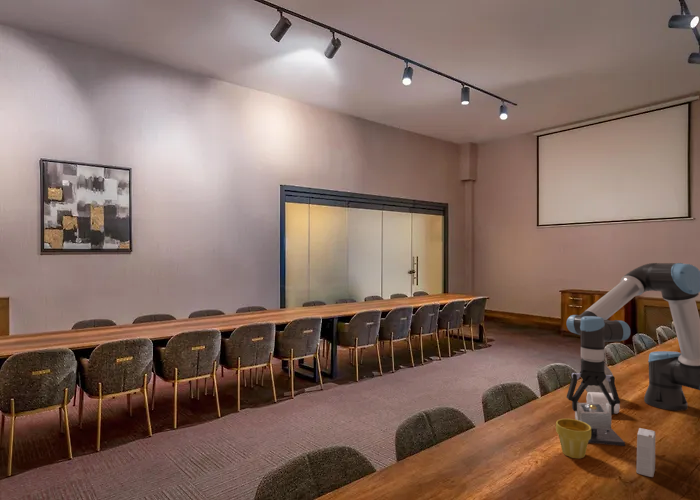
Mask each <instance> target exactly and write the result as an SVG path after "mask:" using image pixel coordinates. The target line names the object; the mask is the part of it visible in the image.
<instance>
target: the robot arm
mask: <svg viewBox="0 0 700 500" xmlns="http://www.w3.org/2000/svg"><path fill="white" fill-rule="evenodd" d="M652 291H653V292H661V296H662V299H663V300H664V301H666V302H668V306H669V310H670V314H671V317H672V321H673V326H674V329H675V333H676V337H677V341H678V345H679V349H680V352H678V351H668V350H667V351H666V350H665V351H664V350H662V351H661V350H660V351H659V350H658V351H651V352H650V353H649V355H648V361H647V363H648V387H647V389H646V391H645V394H644V399H643V401H644V402H645V404H647V405H648V406H652V407H654V408H658V409H661V410H668V411H678V412H679V411H680V412H681V411H686V410H688V405H689V404H688V402H687V398H686V396H685V393H684V390H683V387H685V388H686V387H687V388H691V389H693V390H697V391H700V314H699V311H698V307H697V302H696V299H697V297H698V298H699V295H700V270H699V268H698V267H696V266H695V265H693V264H690V263H683V262H682V263H681V262H678V263H677V262H676V263H673V262H671V263H670V262H663V263H662V262H651V263H646V264H642V265H640V266H638V267H636V268H634V269H632V270H630V271H629V272H627V273H626V274H625V275H623V276H622V277H621V278H620V281H619V283H617V285H615V286H613V288H612V289H611V290H609V291H608V292H607V293H605V294H604V295H603V296H602V297H600V298H599V299H598V300H596V302H594V303H593V304H592V305H590V307H588V308H587V309H585V310H584V311H583V312H582V313H581V314H572V315H571V314H570V316H568V318H567V319H566V328H567V330H568V331H569V332H570V333H573V334H575V335H577V336H578V335H579V336H580V358H581V359H580V371H579V372H577V373H576V372H571V373H570V376H571V379H570V380H571V381H570V383H569V387H568V390H567V394H566V399H567V400H568V401H571V405H572V406H571V407H572V408H571V409H572V410H573V412H574V419H575V420H579V421H580V403H581V402H579V400H580V399H581V396H582V395H583V394H584V391H586V388H587V386H588V385H589V386H592V385H595V386H599V387H600V388H601V390H602V392H603V394H604V395H605V397H606V399H607V400H608V402H609V403H606V409H607V410H608V412H609V413H610V420H611V421H612V415H614V414H615V413H614V406H615V404H621V400H620V398H619V397H620V396H619V393H618V390H617V388H616V384H615V383H614V382H615V378H616V377H615V376H614V375H613V376H612V375H605V365H606V364H605V361H604V360H605V343H610V342H621V341H626V340H628V339H629V338H630V336H631V328H630V326H629V324H628V323H627V322H625V321H624V320H618V319H615V320H611V319H610V317H612V316H614V314H615V313H616V312H618V311H619V310H621V309H622V308H623V306H625V305H626V304H628V303H629V302H630V301H631V300H632V299H633V298H634V297H638V296H641V295H642V294H644V293H645V292H652ZM609 319H610V320H609ZM580 378H581V379H582V380H581V382H580V384H579V386H578V388H577V389H576V387H577V383H578V380H579V379H580ZM605 378H606V379H607V381H608V382H609V386H610V389H611V392H612V396H613V400H612V398H611V396H610V395H609V393H608V391H607V390H606V388H605V386H604V384H603V381H604V380H605Z"/></svg>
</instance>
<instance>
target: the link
mask: <svg viewBox="0 0 700 500" xmlns="http://www.w3.org/2000/svg"><path fill="white" fill-rule="evenodd" d="M579 403H580V421H582V422H585V423H587V424H588V425H590V427H591V429H612V419H611V420H610V413H609V412H608V410H607V409H606V407H605V406H604V405H603V403H587V402H579ZM590 405H595V406H596V407H597V412H589V407H590Z"/></svg>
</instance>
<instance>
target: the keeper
mask: <svg viewBox="0 0 700 500" xmlns="http://www.w3.org/2000/svg"><path fill="white" fill-rule="evenodd" d="M589 412H597V407H596V406H595V405H590V407H589ZM588 444H599V445H608V446H609V445H611V446H622V447H626V442H625V441H624V440H623V439H622V438H621V437H620V435H618V433H617V432H616V431H615V430H614V429H612V428H611V429H591V439H590V440H589V441H588Z"/></svg>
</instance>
